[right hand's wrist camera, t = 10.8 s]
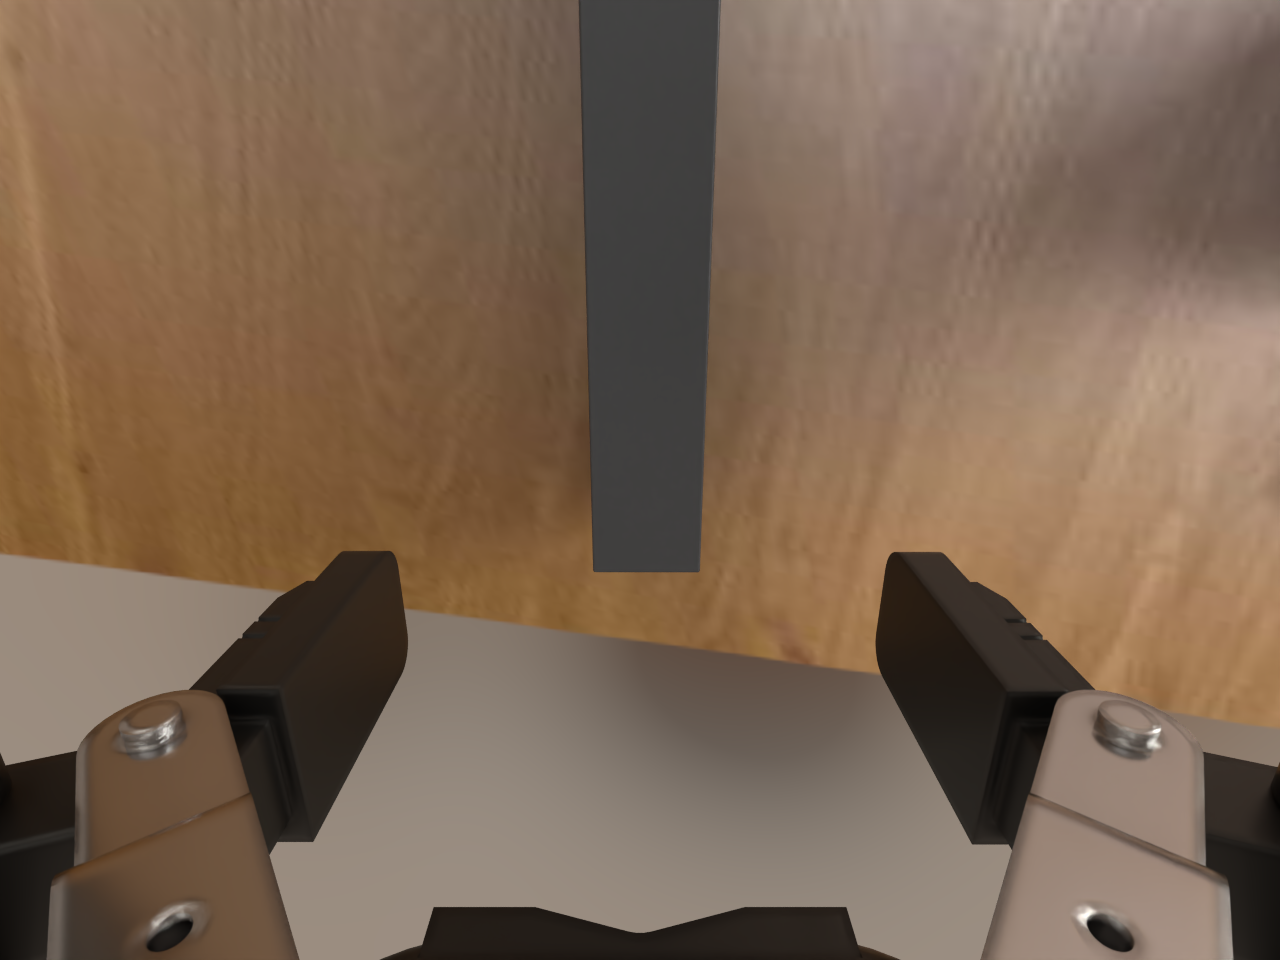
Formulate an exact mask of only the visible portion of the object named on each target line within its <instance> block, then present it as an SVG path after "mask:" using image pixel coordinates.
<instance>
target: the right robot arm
mask: <svg viewBox="0 0 1280 960" xmlns="http://www.w3.org/2000/svg"><path fill="white" fill-rule="evenodd" d="M407 650H408V634H407V627H406V620H405V613H404V605H403V598H402V591H401V584H400V577H399V570H398V564H397V560H396V558H395V556H394V554H393V553H392V552H391V551H343V552H341V553H340V554H338V556H337V557H336V558H335V559H334V560H333V561H332V562H331V563H330V564H329V565H328V567H327V568H326V569H325V570H324V571H323V572H322V573H321V574H320V575H319V576H318V577H317V579H316V580H315V581H306V582H304V583H303V584H301V585H299V586H297V587H296V588H294V589H292V590H290V591H289V592H287V593H285V594H283V595H282V596H280V597H278V598H277V599H276V600H275V601H274V602H273V603H272V604H271V605H270V606H269V607H268V608H267V609H266V611H264V612H263V614H262V615H261V616H260V617H259V620H258V622H254V623H253V624H252V625H251V626H250V627H249V628H248V629H247V630H246V631H245V632H244V633H243V637H242V638H239V639H237V640H236V641H235V642H234V643H233V645H232V646H231V647H230V648H229V649H228V650H227V651H226V652H225V653H224V654H223V655H222V656H221V657H220V658H219V659H218V660H217V661H216V662H215V663H214V664H213V665H212V666H211V667H210V668H209V669H208V670H207V671H206V672H205V673H204V675H203V676H202V677H201V678H200V679H199V680H198V681H197V682H196V683H195V684H194V685H193V686H192V687H191V688H190V689H189V690H181V691H173V692H168V693H163V694H160V695H156V696H153V697H149V698H147V699H144V700H141V701H139V702H136V703H134V704H132V705H129V706H127V707H125V708H123V709H121V710H120V711H118V712H116V713H114V714H113V715H111V716H109V717H108V718H106V719H105V720H103V721H102V722H101V723H100V724H98V725H97V726H96V727H95V728H94V729H93V730H91V732H89V733H88V734H87V736H86V737H85V738H84V739H83V741H82V742H81V744H80V746H79V748H78V750H77V751H74V752H70V753H64V754H59V755H55V756H50V757H45V758H40V759H35V760H30V761H26V762H21V763H16V764H11V765H6V766H5V763H4V761H3V759H2V756H1V754H0V960H299V956H298V953H297V949H296V946H295V943H294V939H293V936H292V932H291V929H290V925H289V922H288V918H287V915H286V911H285V908H284V905H283V901H282V898H281V894H280V891H279V887H278V884H277V880H276V877H275V873H274V870H273V866H272V863H271V860H270V856H269V855H270V853H271V851H272V850H273V848H274V846H275V845H276V843H277V842H313V841H314V839H315V837H316V836H317V834H318V832H319V830H320V828H321V826H322V824H323V822H324V820H325V818H326V817H327V815H328V813H329V811H330V809H331V807H332V805H333V803H334V801H335V800H336V798H337V796H338V794H339V792H340V790H341V788H342V786H343V784H344V783H345V781H346V779H347V777H348V775H349V773H350V771H351V769H352V767H353V766H354V764H355V762H356V760H357V758H358V756H359V754H360V752H361V750H362V748H363V747H364V745H365V743H366V741H367V739H368V737H369V735H370V733H371V731H372V730H373V728H374V726H375V724H376V722H377V720H378V718H379V716H380V714H381V713H382V711H383V709H384V707H385V705H386V703H387V701H388V699H389V697H390V695H391V693H392V692H393V690H394V688H395V686H396V684H397V682H398V680H399V678H400V677H401V675H402V672H403V670H404V667H405V663H406V658H407ZM876 655H877V661H878V666H879V669H880V672H881V674H882V677H883V678H884V680H885V682H886V684H887V686H888V688H889V690H890V692H891V693H892V695H893V697H894V699H895V701H896V703H897V705H898V707H899V708H900V710H901V712H902V714H903V716H904V718H905V720H906V722H907V723H908V725H909V727H910V729H911V731H912V733H913V735H914V736H915V738H916V740H917V742H918V744H919V746H920V748H921V750H922V751H923V753H924V755H925V757H926V759H927V761H928V763H929V765H930V766H931V768H932V770H933V772H934V774H935V776H936V778H937V780H938V781H939V783H940V785H941V787H942V789H943V791H944V793H945V794H946V796H947V798H948V800H949V802H950V804H951V806H952V808H953V809H954V811H955V813H956V815H957V817H958V819H959V821H960V822H961V824H962V826H963V828H964V830H965V832H966V834H967V836H968V837H969V839H970V841H971V843H972V844H1009V846H1010V847H1011V849H1012V853H1011V856H1010V860H1009V863H1008V867H1007V870H1006V873H1005V877H1004V880H1003V884H1002V887H1001V891H1000V894H999V898H998V901H997V905H996V908H995V912H994V915H993V918H992V922H991V925H990V929H989V932H988V936H987V939H986V943H985V946H984V949H983V953H982V956H981V960H1280V763H1279V766H1278V767H1274V766H1269V765H1264V764H1259V763H1254V762H1249V761H1244V760H1240V759H1235V758H1230V757H1225V756H1220V755H1216V754H1211V753H1206V752H1203V751H1202V748H1201V746H1200V744H1199V742H1198V741H1197V739H1196V738H1195V737H1194V736H1193V734H1192V733H1191V732H1190V731H1188V730H1187V729H1186V728H1185V727H1184V726H1183V725H1182V724H1180V723H1179V722H1178V721H1177V720H1175V719H1174V718H1172V717H1170V716H1169V715H1167V714H1166V713H1164V712H1162V711H1160V710H1159V709H1157V708H1155V707H1153V706H1151V705H1148V704H1146V703H1144V702H1142V701H1139V700H1136V699H1133V698H1131V697H1127V696H1124V695H1120V694H1117V693H1112V692H1107V691H1099V690H1095V689H1094V688H1093V687H1092V686H1091V685H1090V684H1089V683H1088V682H1087V681H1086V680H1085V679H1084V678H1083V677H1082V676H1081V675H1080V674H1079V673H1078V671H1077V670H1076V669H1075V668H1074V667H1073V666H1072V665H1071V664H1070V663H1069V662H1068V661H1067V660H1066V659H1065V658H1064V657H1063V656H1062V655H1061V654H1060V653H1059V652H1058V651H1057V650H1056V649H1055V648H1054V647H1053V646H1052V645H1051V644H1050V643H1049V642H1048V641H1047V640H1043V638H1042V635H1041V634H1040V633H1039V632H1038V630H1037V629H1036V628H1035V627H1034V626H1033V625H1032V624H1031V623H1027V622H1026V618H1025V617H1024V616H1023V615H1022V614H1021V613H1020V612H1019V611H1018V610H1017V609H1016V608H1015V607H1014V606H1013V605H1012V604H1011V603H1010V602H1009V601H1008V600H1007V599H1006V598H1004V597H1002V596H1001V595H999V594H997V593H995V592H994V591H992V590H990V589H988V588H987V587H985V586H983V585H981V584H980V583H978V582H970V581H969V580H968V579H967V578H966V577H965V576H964V575H963V574H962V573H961V572H960V571H959V569H958V568H957V567H956V566H955V565H954V564H953V563H952V562H951V561H950V560H949V559H948V558H947V556H946V555H944V554H943V553H941V552H893V553H892V554H891V555H890V556H889V558H888V560H887V564H886V569H885V576H884V583H883V590H882V597H881V604H880V611H879V618H878V625H877V632H876ZM381 960H899V959H897V958H895V957H892V956H889V955H887V954H884V953H881V952H879V951H876V950H874V949H870V948H867V947H863V946H860V945H858V944H857V941H856V938H855V934H854V931H853V928H852V925H851V921H850V918H849V915H848V911H847V908H846V907H744V908H740V909H736V910H732V911H728V912H725V913H721V914H717V915H713V916H710V917H706V918H702V919H698V920H694V921H690V922H687V923H683V924H679V925H675V926H671V927H667V928H663V929H660V930H656V931H652V932H647V933H633V932H628V931H624V930H620V929H617V928H613V927H609V926H605V925H601V924H597V923H593V922H590V921H586V920H582V919H578V918H574V917H570V916H567V915H563V914H559V913H555V912H552V911H548V910H544V909H540V908H536V907H434V908H433V911H432V915H431V918H430V921H429V925H428V928H427V931H426V935H425V938H424V941H423V944H422V945H420V946H417V947H413V948H409V949H406V950H404V951H401V952H399V953H396V954H393V955H391V956H388V957H385V958H383V959H381Z"/></svg>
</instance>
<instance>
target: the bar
mask: <svg viewBox="0 0 1280 960" xmlns="http://www.w3.org/2000/svg"><path fill="white" fill-rule="evenodd" d="M720 6H721V0H579V30H580V70H581V109H582V148H583V187H584V227H585V266H586V305H587V345H588V384H589V423H590V462H591V502H592V541H593V571H594V572H699V571H700V550H701V523H702V496H703V469H704V441H705V414H706V387H707V360H708V333H709V305H710V278H711V251H712V224H713V197H714V169H715V142H716V115H717V88H718V61H719V33H720Z"/></svg>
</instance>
